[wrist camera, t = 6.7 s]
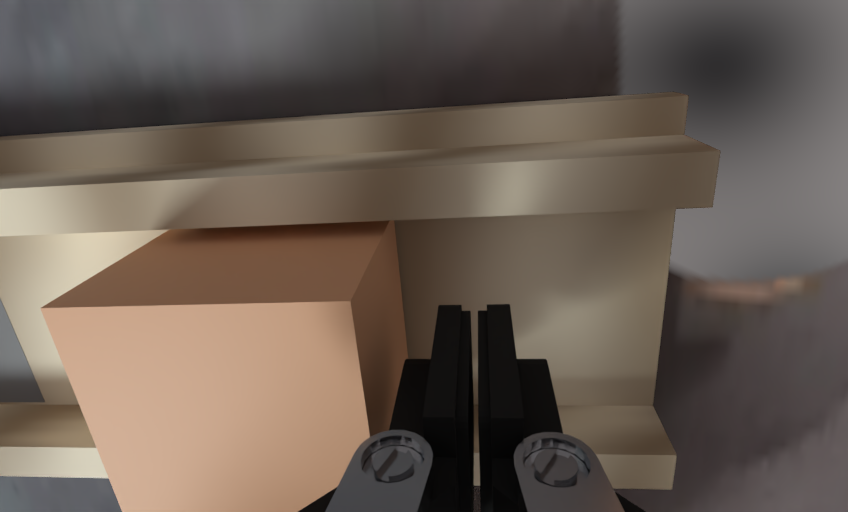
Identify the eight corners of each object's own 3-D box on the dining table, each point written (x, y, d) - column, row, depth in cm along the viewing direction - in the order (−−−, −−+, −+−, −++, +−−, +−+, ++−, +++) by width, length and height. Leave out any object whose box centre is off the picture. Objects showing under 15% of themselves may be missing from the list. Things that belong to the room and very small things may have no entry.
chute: (673, 91, 13) (727, 105, 10) (637, 437, 17) (668, 513, 14) (-205, 150, 16) (-348, 172, 13) (-54, 431, 20) (-139, 492, 17)
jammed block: (393, 213, 14) (350, 301, 9) (412, 398, 16) (385, 544, 11) (180, 222, 14) (40, 308, 10) (227, 398, 17) (132, 536, 12)
